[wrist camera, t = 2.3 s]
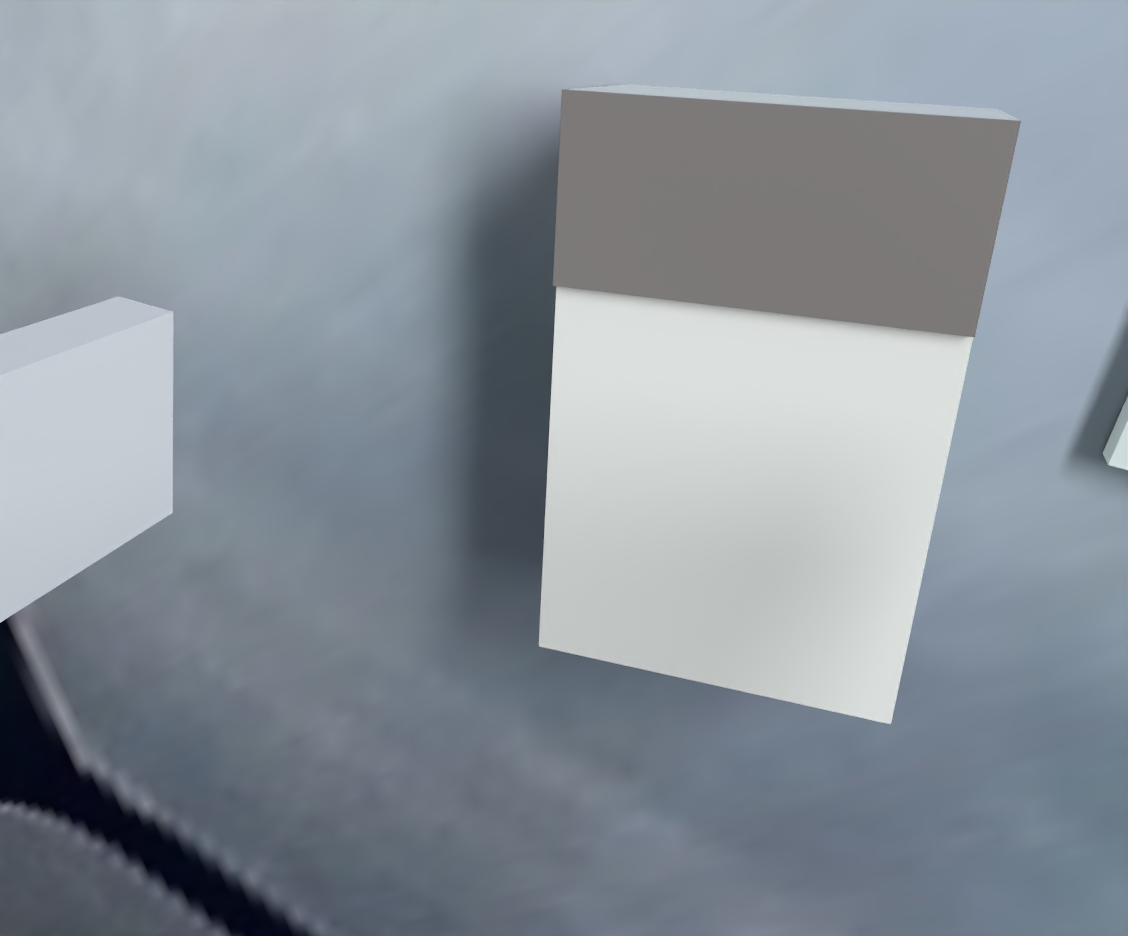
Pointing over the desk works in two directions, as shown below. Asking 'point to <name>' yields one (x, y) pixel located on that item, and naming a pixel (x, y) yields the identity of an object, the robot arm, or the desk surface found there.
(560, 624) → the card deck box
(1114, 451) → the mat
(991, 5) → the desk surface
